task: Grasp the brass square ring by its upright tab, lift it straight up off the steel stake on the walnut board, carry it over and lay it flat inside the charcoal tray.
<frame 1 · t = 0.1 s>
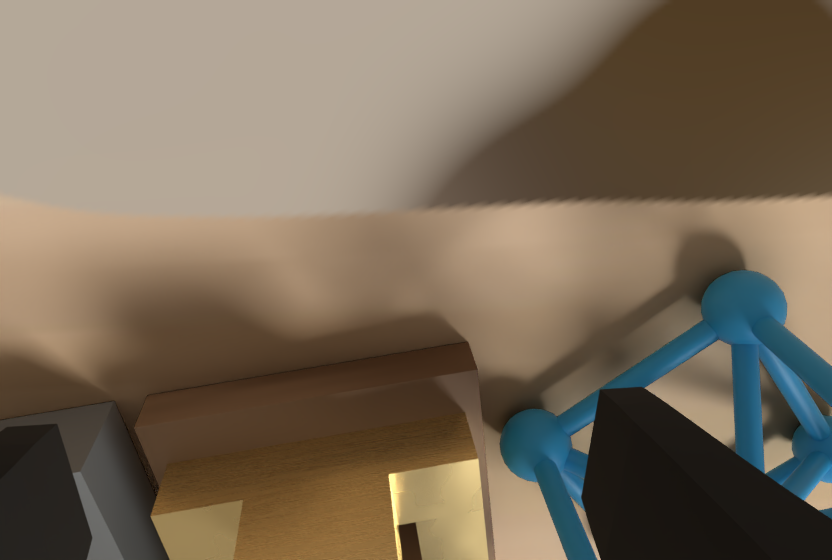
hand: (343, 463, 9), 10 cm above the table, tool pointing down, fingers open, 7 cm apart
stake base: (343, 505, 23), on the table
molecular structure: (669, 420, 23), on the table
ring: (343, 540, 21), point 1 cm above the table, touching stake base
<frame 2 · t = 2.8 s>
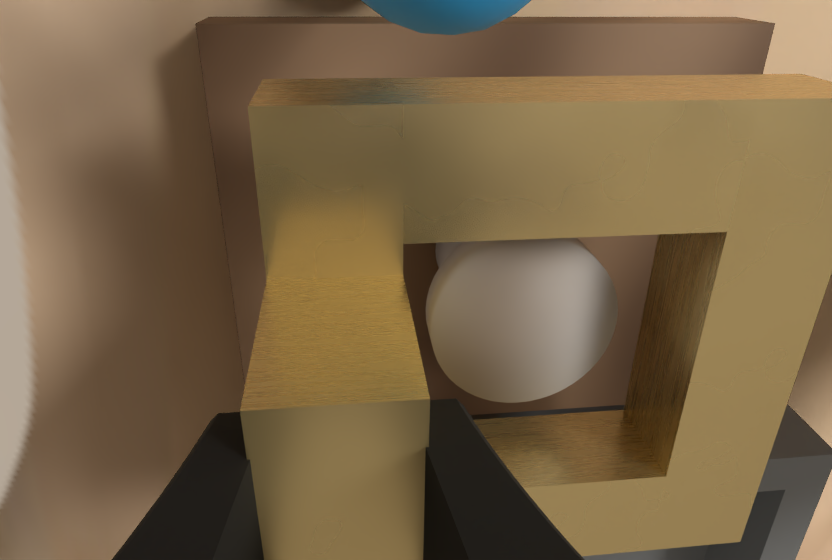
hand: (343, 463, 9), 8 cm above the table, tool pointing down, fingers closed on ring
stake base: (472, 224, 17), on the table
ring: (520, 315, 12), point 5 cm above the table, touching gripper
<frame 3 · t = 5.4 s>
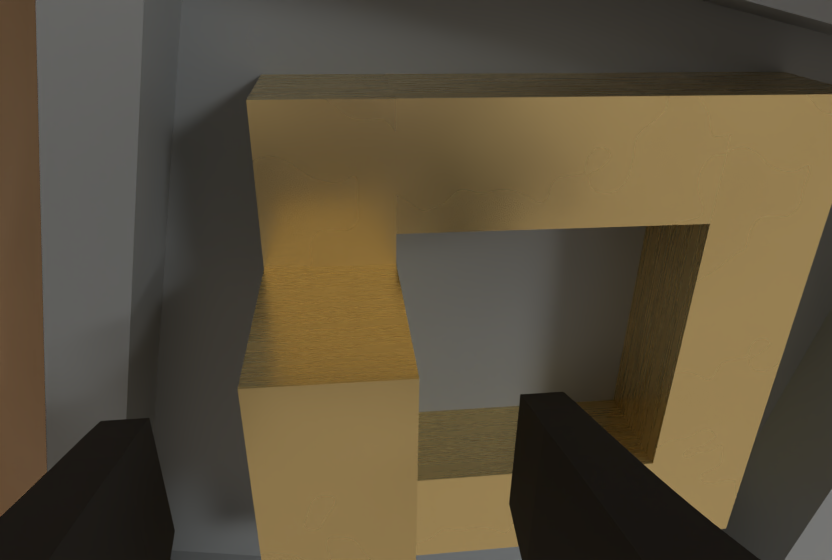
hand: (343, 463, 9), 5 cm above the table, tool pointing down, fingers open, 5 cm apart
tray: (500, 317, 14), on the table
ring: (512, 306, 13), point 1 cm above the table, touching tray
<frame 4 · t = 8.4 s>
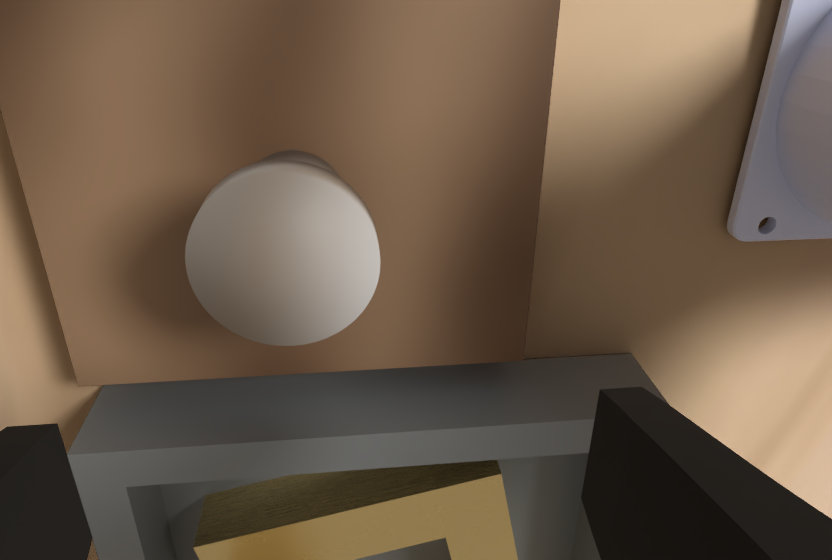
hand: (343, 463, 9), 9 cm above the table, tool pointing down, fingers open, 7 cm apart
stake base: (298, 179, 17), on the table
tray: (382, 551, 23), on the table
ring: (379, 556, 22), point 1 cm above the table, touching tray
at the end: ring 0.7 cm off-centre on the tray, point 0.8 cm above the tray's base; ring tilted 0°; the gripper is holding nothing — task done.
